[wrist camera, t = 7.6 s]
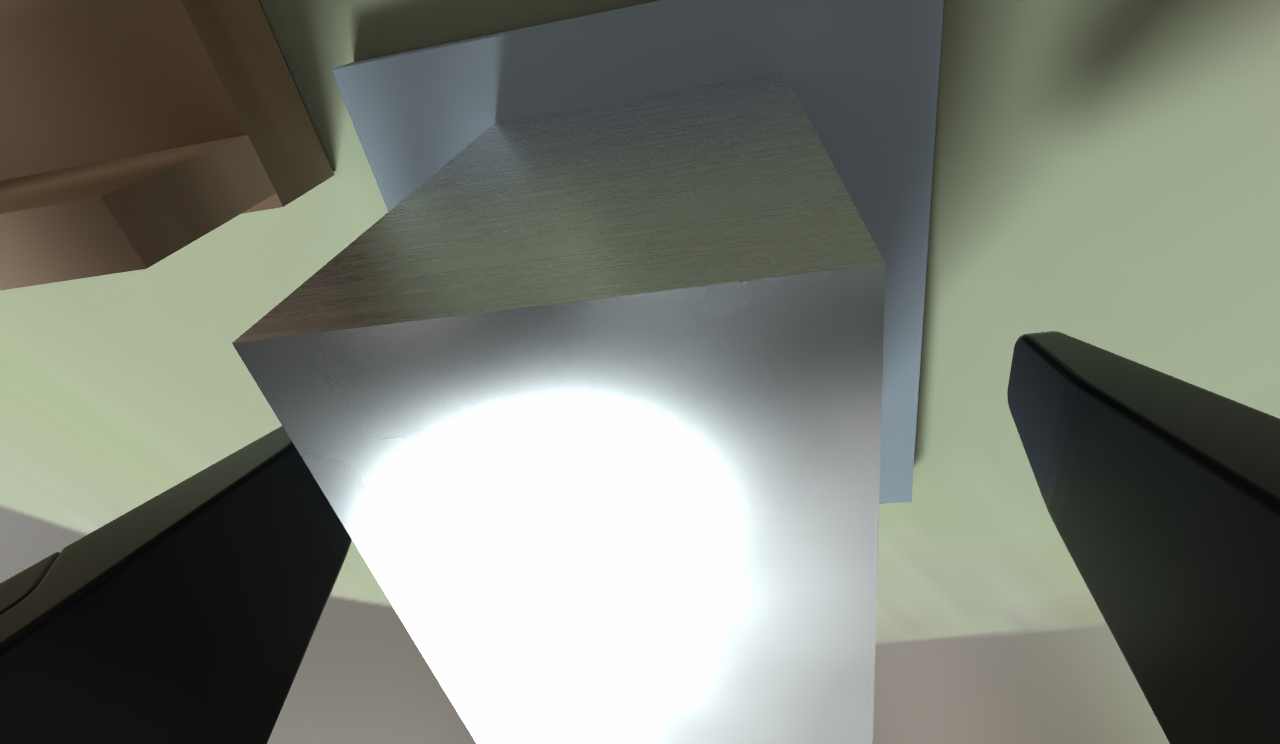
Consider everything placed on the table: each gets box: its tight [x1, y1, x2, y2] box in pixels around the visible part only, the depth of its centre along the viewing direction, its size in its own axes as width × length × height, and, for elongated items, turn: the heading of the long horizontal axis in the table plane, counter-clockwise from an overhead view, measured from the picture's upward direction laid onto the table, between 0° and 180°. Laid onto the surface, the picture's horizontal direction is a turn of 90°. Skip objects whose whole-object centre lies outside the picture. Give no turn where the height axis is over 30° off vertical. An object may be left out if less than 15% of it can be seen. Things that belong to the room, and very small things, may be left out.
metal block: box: [232, 71, 886, 744], centre depth 8 cm, size 4×7×6 cm, turn 10°
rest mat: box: [331, 0, 944, 504], centre depth 11 cm, size 8×9×1 cm
